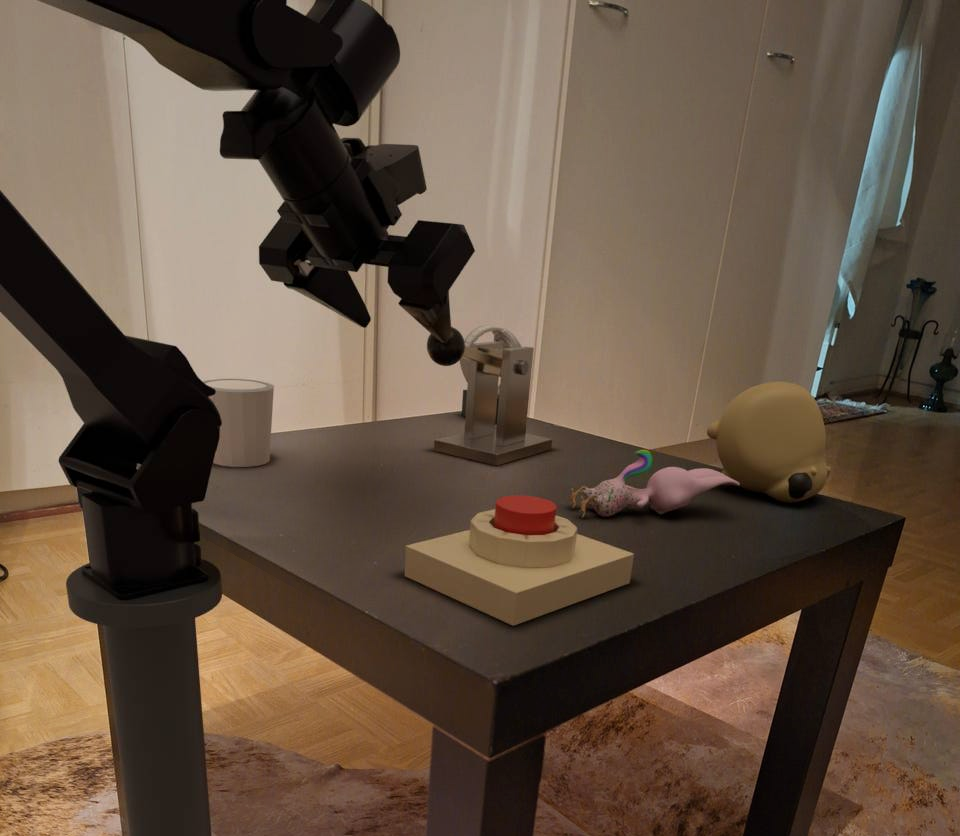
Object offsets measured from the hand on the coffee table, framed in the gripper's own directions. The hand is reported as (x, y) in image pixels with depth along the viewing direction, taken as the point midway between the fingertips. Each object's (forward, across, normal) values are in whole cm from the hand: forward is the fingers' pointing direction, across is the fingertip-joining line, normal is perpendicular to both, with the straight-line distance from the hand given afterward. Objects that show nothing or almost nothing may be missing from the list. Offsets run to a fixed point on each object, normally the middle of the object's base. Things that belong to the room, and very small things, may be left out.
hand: (405, 330), depth 75 cm
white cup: (+5, +14, +14) cm, 21 cm away
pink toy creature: (+16, -22, +2) cm, 27 cm away
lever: (+11, +1, -5) cm, 12 cm away
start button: (-3, -23, +16) cm, 28 cm away
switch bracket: (+21, +1, -3) cm, 21 cm away
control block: (0, -23, +18) cm, 29 cm away
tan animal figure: (+26, -26, -9) cm, 38 cm away
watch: (+30, +12, -12) cm, 35 cm away
